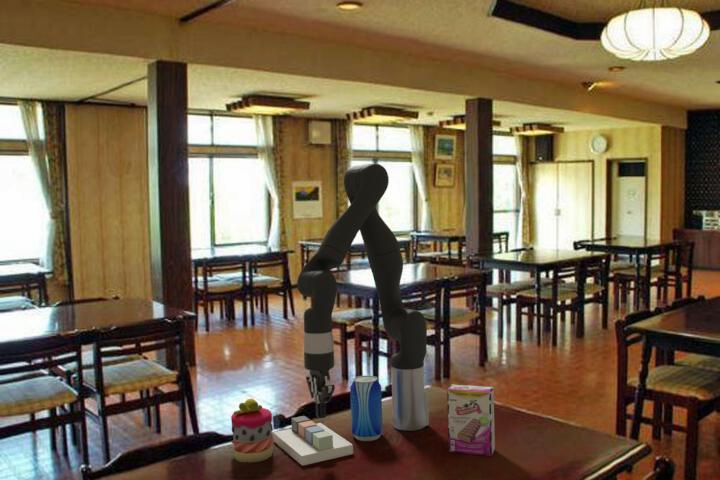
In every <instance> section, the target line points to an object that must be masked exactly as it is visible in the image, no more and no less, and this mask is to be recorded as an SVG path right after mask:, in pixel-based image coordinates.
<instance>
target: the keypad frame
mask: <svg viewBox="0 0 720 480" xmlns="http://www.w3.org/2000/svg"><path fill="white" fill-rule="evenodd" d="M316 424H317V426H320V427H321V428H323V429H324V430H325V431H327V432H329V433H330V434H332V435H333V448H331V449H327V450H322V451H318V450H316V449H315V448H314V447H313V445H310V444H308V443H307V442H306V439H305V440H303V439H302V438H301V437H299V434H296V433H294V432H293V431H292V428H288V429H282V430H279V431H272V435H273V437H274V443H275V444H277V446H279V447H280V448H281V449H282V450H283V451H284V452H285V453H286V454H288V455H289V456H290V457H291V458H292V459H293V460H295V461H296V462H297V463H298V464H299V465H300V466H307V465H311V464H315V463H320V462H324V461H329V460H333V459H337V458H341V457H346V456H350V455H353V454H354V446H353V443H351V442H350V441H348V440H347V439H346V438H344V437H343V436H341V435H339V434H338V433H336V432H335V431H333V430H332V429H330V428H329V427H327V426H326V425H324V424H323V423H322V422H318V423H316Z"/></svg>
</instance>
